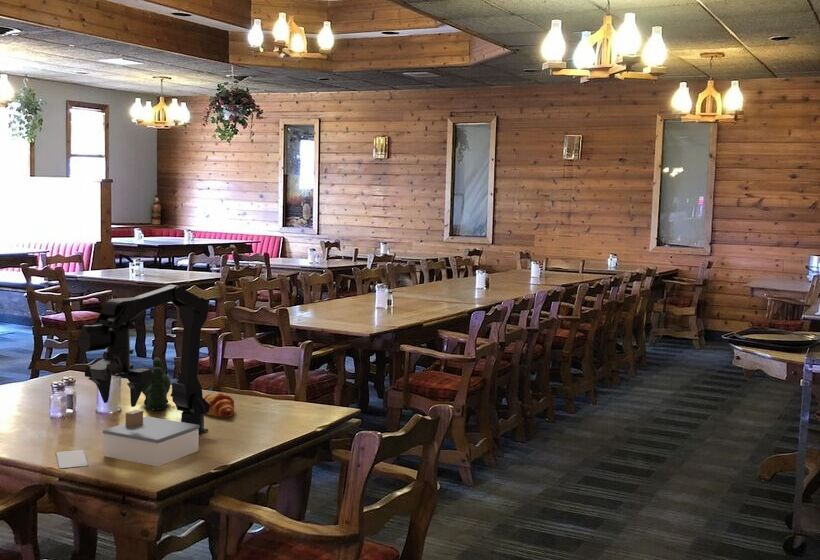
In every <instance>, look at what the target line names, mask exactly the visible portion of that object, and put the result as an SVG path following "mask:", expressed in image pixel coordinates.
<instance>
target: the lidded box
mask: <svg viewBox="0 0 820 560" xmlns="http://www.w3.org/2000/svg"><path fill="white" fill-rule="evenodd" d="M199 435H200V434H199V429H195V430H192V431H190V432H187V433H184V434H181V435H178V436H176V437H173V438H170V439H167V440H164V441H162V442H159V443H155V442H149V441H143V440H138V439H132V438H127V437H121V436H115V435H110V434H104V433H103V457H107V458H112V459H117V460H122V461H126V462H133V463H139V464H143V465H149V466H155V467H161V466H163V465H166V464H168V463H171V462H174V461H176V460H179V459H181V458H184V457H186V456H188V455H191V454H194V453H196V452H198V451H199V438H200V437H199Z"/></svg>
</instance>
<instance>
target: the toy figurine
mask: <svg viewBox="0 0 820 560" xmlns="http://www.w3.org/2000/svg"><path fill="white" fill-rule="evenodd" d="M152 366H153V367H154V368H152V369H151V370H152V371H153V373H154V379H153V380H150V382H148V383H146V385H145V387H144V389H143V390H142V392H141V393H142V394H143V395H144V396H145V399H144V401H143V404H144V408H145V410H146V411H148V412H149V411H150V412H151V411H153V410H161V411H166V410H167V409H168V403H169V400H168V397H167V396H168V393H169V391H170V389H171V379H170V377H169V375H167V373H165V372H164V370H163V368H162V367H161V366H162V360H161V358H160V357H157V356H156V357H154V358H153V361H152Z"/></svg>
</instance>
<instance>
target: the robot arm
mask: <svg viewBox="0 0 820 560" xmlns="http://www.w3.org/2000/svg"><path fill="white" fill-rule="evenodd" d="M167 303H172V305H173V306H175V307H176V308H178V314H179V316H178V317H179V320H180V322H181V323H182V327H183V332H182V346H181V361H180V375H179V377H178V379H177V380H176V381H175V382H172V383H171V393H170V397H171V398H172V399H171V400H172V402H173V404H174V405H175V407H176V410H177V411H180V412H181V418H180V422H184V423H190V424H196V425H200V428H198V429H199V435H202V434H203V433H206V432H208V431H209V429H208V428H205V414H206V413H208V412H209V409H210V404H209V403H208V402H207V401H206V400H205V399H204V397H203V387H202V385H201V382H200V380H199V363H200V353H201V352H200V350H201V337H202V328H203V326H204V325H205V322H206V321H207V320H208V315H209V311H210V303H209V301H208V300H207V299H206V298H205V297H200V296H198V295H196V294H195V293H193V292H190V291H188V290H186V289H185V288H184V287H182V286H180V285H178V284H168V285H166V286H163V287H161V288H158V289H155V290H151V291H148V292H145V293H142V294H139V295H136V296H134V297H132V296H131V297H119V298H117V297H116V298H110V299H108V300H106V301H105V302H104V305H103V307H102V310H101V312H100V313H99V315H98V317H97V318H96V320H95V321H94V323H93V324H91V325H87V324H86V325H82V326H81V330H80V331H79V333H78V336H77V339H76V340H77V345H78V348H79V350H80V351H81V352H83V353H89V352H97V351H100V350H101V351H102V350H106V351H103V353H102V359H100V360H98V361H97V362H94V363H93V364H89V365H86V366H85V369H84V377H86V378H88V380H89V381H91V382H93V383H94V384H95V385H96V386H97V389H98V392H99V394H100V396H101V399H102V402H103V403H104V404H107V403H109V398H110V392H111V383H112V376H113V377H120V378H126V379H127V380H128V383H126V385H127V386H128V387H129V393H130V395H129V396H130V397H129V398H130V406H131V407H132V408H134V407H136V406H137V403H138V400H139V399H140V396H141V395H142V393H143V392H142V390H143V389H144V387H145V385H146V383H148V382H150V380H153V379H154V373H153V371H152V370H153V369H151V368H144V367H140V368H136V369H134V364H131V355H133V354H134V349H131V347H130V346H131V342H130V341H131V340H130V333H131V332H130V330H136V329H137V328H138V327H137V325H136V324H134V323H133V322H132V320H133V319H135V318H136V317H138V316H139V315H140V314H141V313H143V312H145V311H146V310H150V309H153V308H156V307H159V306H162V305H164V304H167Z"/></svg>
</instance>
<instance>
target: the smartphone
mask: <svg viewBox="0 0 820 560" xmlns="http://www.w3.org/2000/svg"><path fill="white" fill-rule="evenodd" d="M55 455H56V460H57V464H58V465H57V466H58V469H59V470H64V469H74V468H75V469H77V468H84V467H85V468H86V467H89V462H88V458H87V456H86V452H85V449H76V450H65V451H64V450H60V451H56V452H55Z"/></svg>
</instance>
